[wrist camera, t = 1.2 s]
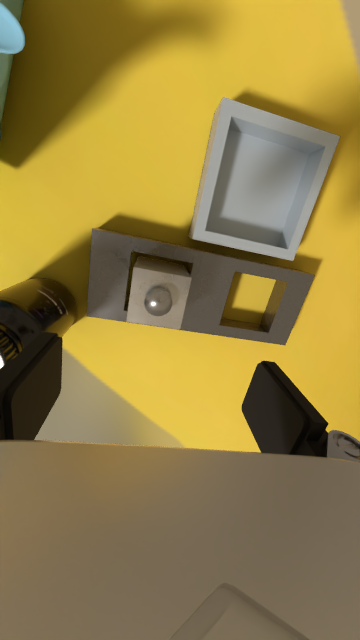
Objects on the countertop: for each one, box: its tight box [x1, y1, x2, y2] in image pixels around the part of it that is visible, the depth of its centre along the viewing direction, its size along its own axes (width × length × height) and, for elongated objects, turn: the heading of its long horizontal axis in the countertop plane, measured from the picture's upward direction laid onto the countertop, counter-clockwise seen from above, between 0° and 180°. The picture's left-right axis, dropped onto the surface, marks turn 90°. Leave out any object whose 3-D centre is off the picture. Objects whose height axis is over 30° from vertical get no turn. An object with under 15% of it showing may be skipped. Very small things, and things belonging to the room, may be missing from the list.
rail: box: [87, 228, 315, 345], centre depth 27 cm, size 24×9×2 cm, turn 78°
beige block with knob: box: [126, 256, 192, 330], centre depth 23 cm, size 5×5×8 cm
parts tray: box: [189, 97, 340, 261], centre depth 23 cm, size 11×11×3 cm
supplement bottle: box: [0, 278, 77, 368], centre depth 21 cm, size 7×7×12 cm
